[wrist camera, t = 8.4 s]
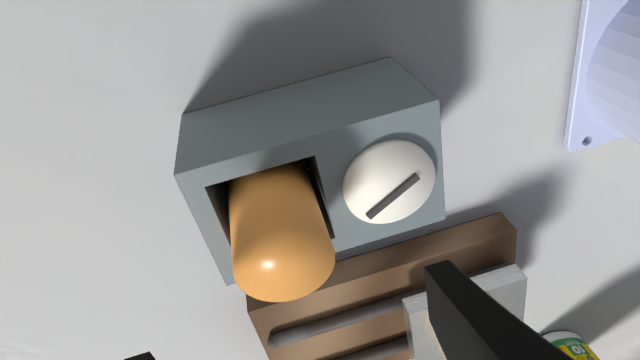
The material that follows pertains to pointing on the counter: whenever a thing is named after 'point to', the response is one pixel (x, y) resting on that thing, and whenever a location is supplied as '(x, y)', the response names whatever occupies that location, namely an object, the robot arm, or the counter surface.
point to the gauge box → (322, 153)
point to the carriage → (498, 284)
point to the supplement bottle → (571, 345)
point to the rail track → (376, 295)
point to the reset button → (278, 234)
